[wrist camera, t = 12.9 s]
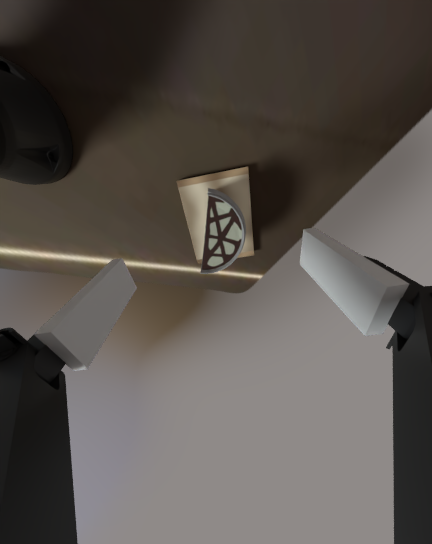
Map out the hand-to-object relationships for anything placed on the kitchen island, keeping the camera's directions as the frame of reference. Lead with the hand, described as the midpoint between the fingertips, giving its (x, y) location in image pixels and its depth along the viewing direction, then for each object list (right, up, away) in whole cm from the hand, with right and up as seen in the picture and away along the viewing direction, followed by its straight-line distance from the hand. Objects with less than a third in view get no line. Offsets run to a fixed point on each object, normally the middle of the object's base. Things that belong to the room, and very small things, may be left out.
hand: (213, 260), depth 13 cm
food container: (+1, +9, +20) cm, 22 cm away
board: (+1, +9, +21) cm, 23 cm away
